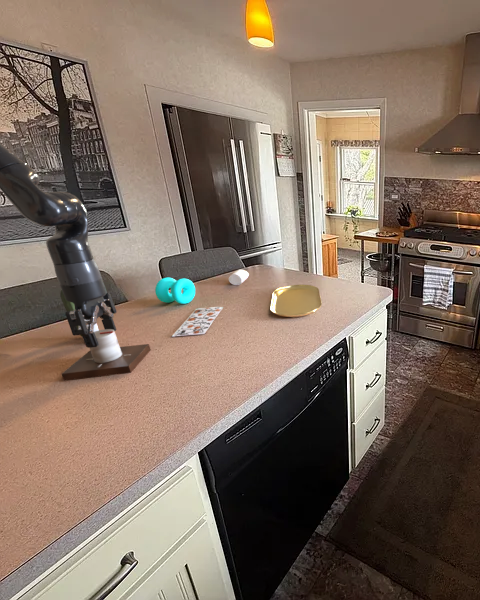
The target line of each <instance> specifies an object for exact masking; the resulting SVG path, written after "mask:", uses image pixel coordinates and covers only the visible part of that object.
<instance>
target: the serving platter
mask: <svg viewBox="0 0 480 600" xmlns="http://www.w3.org/2000/svg"><path fill="white" fill-rule="evenodd" d="M322 305H323V302H322V297H321V293H320V289H319V288H318V286H316V285H311V284H291V285H285V286H282V287H279V288H277V289H275V290H274V291H273V292H272V295H271V302H270V308H269V311H271V312H272V313H273V315H275V316H277V317H283V318H299V317H304V316H309V315H311V314H314V313H316V312H317V311H319V310H320V309H321V307H322Z"/></svg>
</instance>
